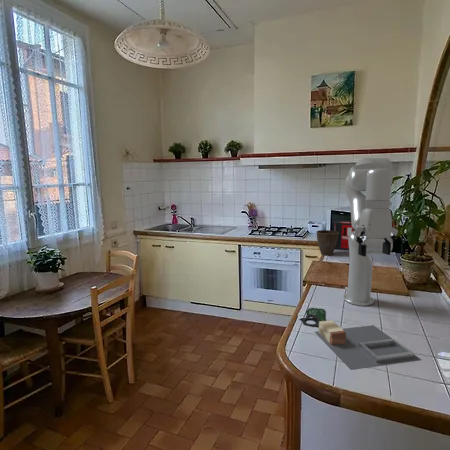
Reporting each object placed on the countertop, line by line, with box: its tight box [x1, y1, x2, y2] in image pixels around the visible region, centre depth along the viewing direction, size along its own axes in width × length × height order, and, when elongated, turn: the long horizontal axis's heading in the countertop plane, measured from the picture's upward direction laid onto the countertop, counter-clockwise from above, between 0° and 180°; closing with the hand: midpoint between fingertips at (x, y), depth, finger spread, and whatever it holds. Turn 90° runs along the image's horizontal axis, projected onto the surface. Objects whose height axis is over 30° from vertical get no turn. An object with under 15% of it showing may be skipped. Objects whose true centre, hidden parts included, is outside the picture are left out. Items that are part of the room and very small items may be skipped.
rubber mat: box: [314, 324, 422, 371], centre depth 107 cm, size 23×24×1 cm
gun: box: [299, 307, 327, 328], centre depth 127 cm, size 16×2×10 cm
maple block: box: [318, 319, 346, 345], centre depth 111 cm, size 9×5×4 cm, turn 11°
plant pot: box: [316, 229, 339, 257], centre depth 224 cm, size 15×15×16 cm
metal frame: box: [359, 338, 415, 363], centre depth 102 cm, size 9×13×2 cm
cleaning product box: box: [334, 220, 355, 251], centre depth 239 cm, size 16×9×20 cm, turn 73°
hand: (374, 254), depth 111 cm, fingers open, 9 cm apart
